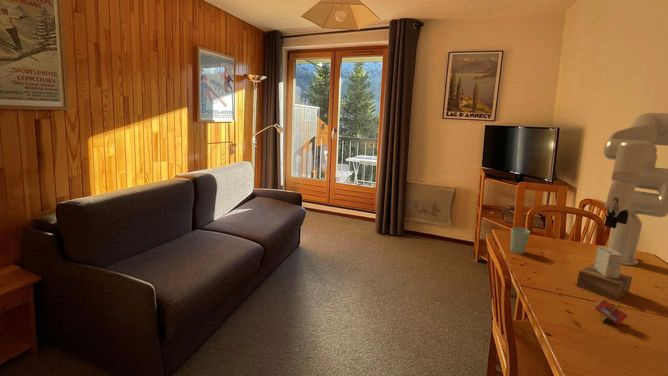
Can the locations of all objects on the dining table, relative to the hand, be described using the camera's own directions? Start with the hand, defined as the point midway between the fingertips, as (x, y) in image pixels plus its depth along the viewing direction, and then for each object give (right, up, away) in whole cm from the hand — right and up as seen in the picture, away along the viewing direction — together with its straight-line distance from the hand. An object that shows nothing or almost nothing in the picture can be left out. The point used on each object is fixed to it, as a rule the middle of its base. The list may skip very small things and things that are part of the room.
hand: (615, 225), depth 124 cm
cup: (-16, -16, +37) cm, 43 cm away
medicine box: (-2, -18, +2) cm, 18 cm away
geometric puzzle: (-17, -27, -18) cm, 37 cm away
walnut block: (-3, -24, +3) cm, 24 cm away
